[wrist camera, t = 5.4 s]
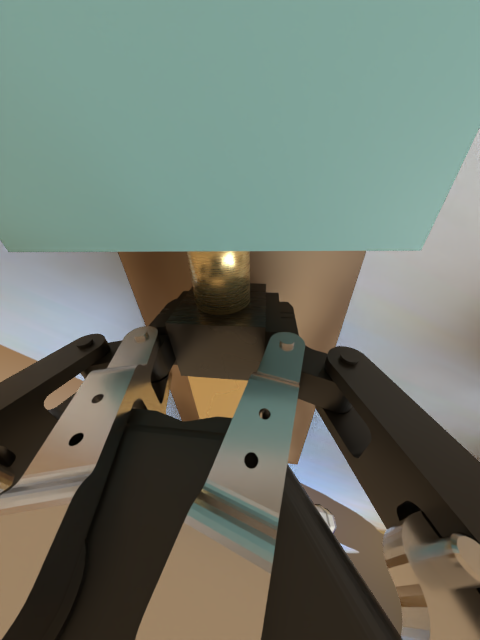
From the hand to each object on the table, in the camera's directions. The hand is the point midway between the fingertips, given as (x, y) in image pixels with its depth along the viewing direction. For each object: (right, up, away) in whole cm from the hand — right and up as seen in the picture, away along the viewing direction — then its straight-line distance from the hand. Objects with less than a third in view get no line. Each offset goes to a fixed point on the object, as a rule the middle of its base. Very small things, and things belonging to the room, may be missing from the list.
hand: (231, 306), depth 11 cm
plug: (0, -5, +3) cm, 6 cm away
